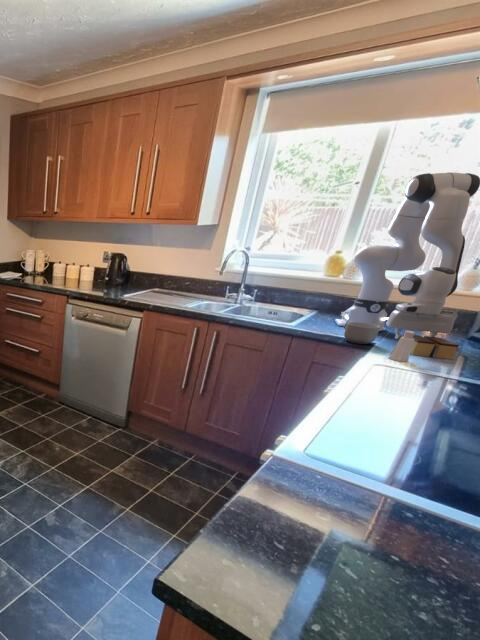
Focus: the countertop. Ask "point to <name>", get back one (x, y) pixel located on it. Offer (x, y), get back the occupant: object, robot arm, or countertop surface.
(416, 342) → the two-panel tan box
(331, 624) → the countertop surface
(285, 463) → the countertop surface
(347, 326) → the teacup
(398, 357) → the pepper shaker
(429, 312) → the robot arm
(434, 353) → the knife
